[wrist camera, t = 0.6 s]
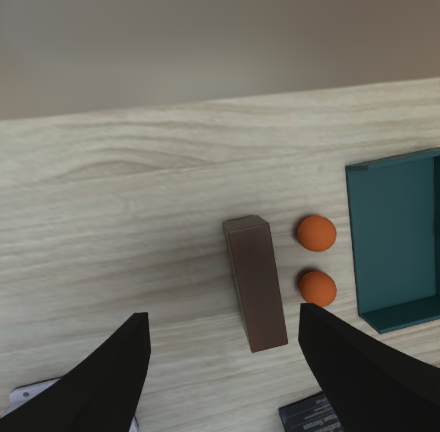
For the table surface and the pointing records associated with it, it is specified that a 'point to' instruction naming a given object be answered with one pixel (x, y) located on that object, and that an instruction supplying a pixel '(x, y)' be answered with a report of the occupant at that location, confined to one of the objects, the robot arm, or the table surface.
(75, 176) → the table surface
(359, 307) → the dustpan
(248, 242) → the brush
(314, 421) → the box
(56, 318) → the table surface
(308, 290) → the ball
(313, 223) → the ball
